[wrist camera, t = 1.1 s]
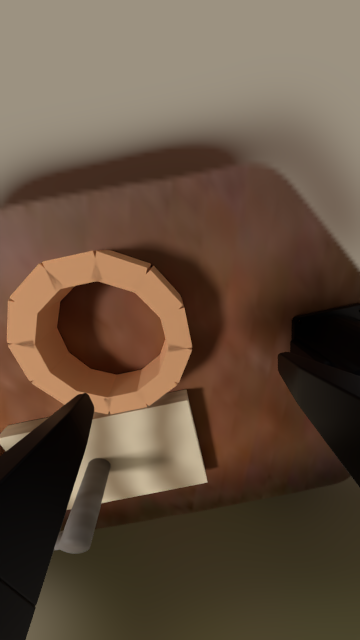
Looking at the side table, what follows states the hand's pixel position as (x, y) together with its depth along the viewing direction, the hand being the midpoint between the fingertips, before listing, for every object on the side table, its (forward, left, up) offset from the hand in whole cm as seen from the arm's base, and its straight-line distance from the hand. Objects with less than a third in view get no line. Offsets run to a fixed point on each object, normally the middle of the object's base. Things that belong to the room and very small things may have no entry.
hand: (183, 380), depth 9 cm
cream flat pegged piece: (+10, +14, -9) cm, 20 cm away
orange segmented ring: (+6, 0, -9) cm, 10 cm away
